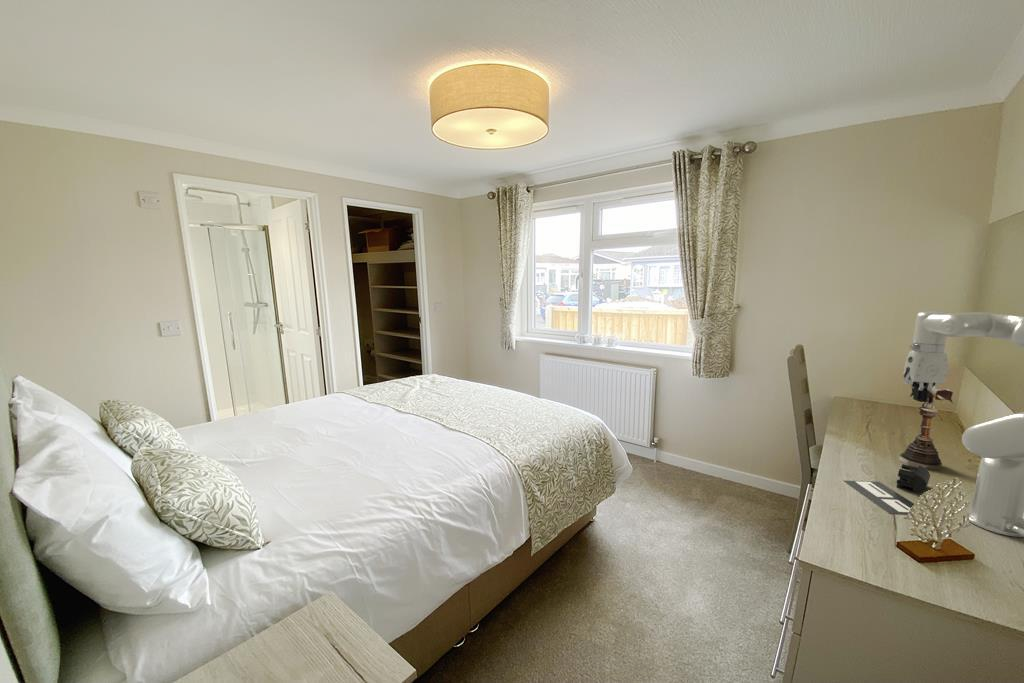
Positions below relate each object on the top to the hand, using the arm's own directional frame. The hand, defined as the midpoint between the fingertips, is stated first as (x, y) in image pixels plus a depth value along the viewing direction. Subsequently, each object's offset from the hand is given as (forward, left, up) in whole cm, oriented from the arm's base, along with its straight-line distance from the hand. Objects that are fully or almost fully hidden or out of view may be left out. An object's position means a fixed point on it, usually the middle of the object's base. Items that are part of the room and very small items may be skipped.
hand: (919, 400), depth 133 cm
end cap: (-2, -1, -31) cm, 31 cm away
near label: (-15, +14, -31) cm, 37 cm away
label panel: (-9, +14, -31) cm, 35 cm away
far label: (-5, +14, -31) cm, 34 cm away
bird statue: (+20, -20, -31) cm, 42 cm away
